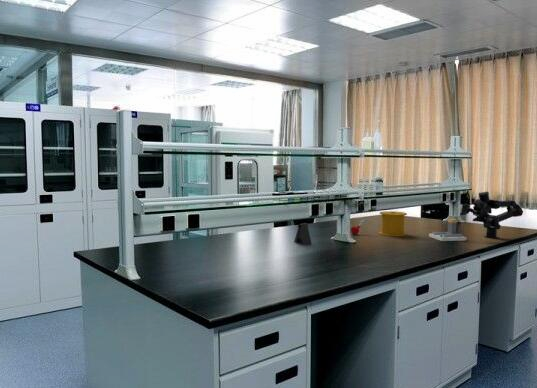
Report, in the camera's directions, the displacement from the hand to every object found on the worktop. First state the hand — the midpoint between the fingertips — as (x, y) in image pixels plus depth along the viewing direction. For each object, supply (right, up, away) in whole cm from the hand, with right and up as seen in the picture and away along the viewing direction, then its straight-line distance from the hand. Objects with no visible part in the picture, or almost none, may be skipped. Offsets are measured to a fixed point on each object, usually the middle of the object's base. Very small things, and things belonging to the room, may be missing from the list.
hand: (466, 217), depth 279 cm
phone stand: (-106, -15, -11) cm, 107 cm away
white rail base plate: (-9, -14, +7) cm, 19 cm away
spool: (-41, -13, +23) cm, 49 cm away
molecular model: (-68, -13, +20) cm, 72 cm away
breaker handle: (-6, -12, +7) cm, 15 cm away
